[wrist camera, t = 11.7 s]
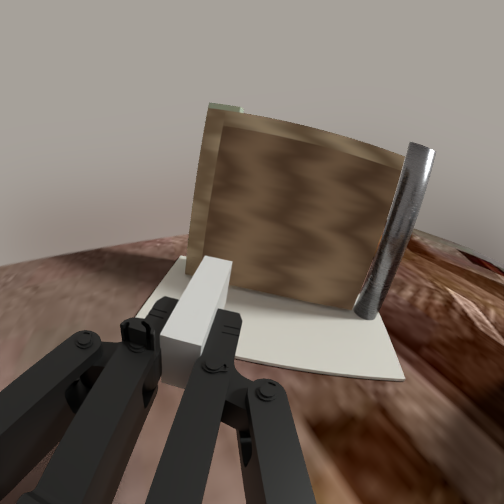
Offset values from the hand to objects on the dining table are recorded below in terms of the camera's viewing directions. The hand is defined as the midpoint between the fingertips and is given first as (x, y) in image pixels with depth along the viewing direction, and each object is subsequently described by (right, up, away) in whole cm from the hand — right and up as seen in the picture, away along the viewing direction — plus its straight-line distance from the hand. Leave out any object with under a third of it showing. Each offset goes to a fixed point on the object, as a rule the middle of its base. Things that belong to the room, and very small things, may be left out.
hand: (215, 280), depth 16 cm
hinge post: (+15, -5, +15) cm, 21 cm away
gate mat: (+4, -4, +12) cm, 14 cm away
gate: (+4, -2, +14) cm, 15 cm away
